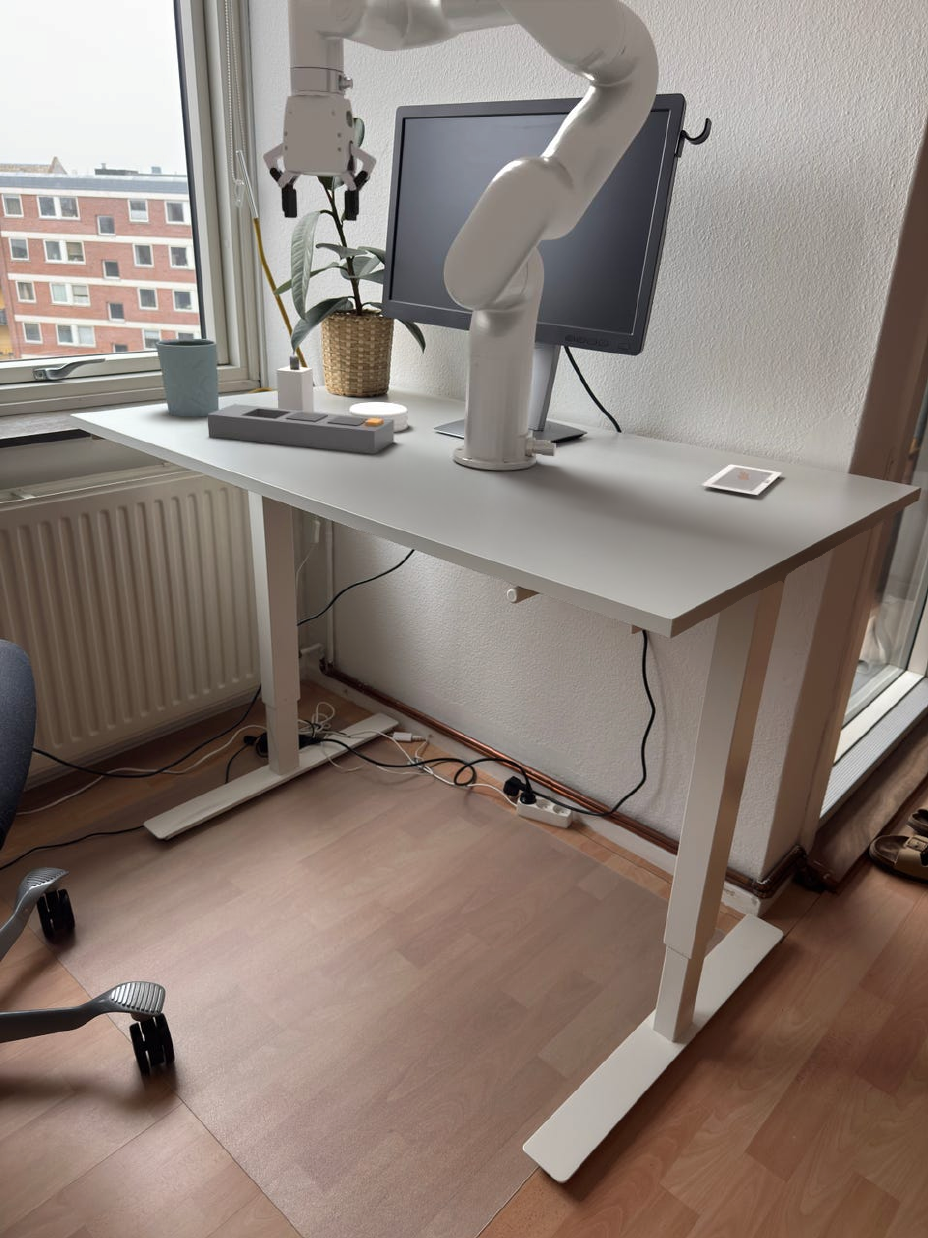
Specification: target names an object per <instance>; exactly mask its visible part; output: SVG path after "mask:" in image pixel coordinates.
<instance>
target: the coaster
mask: <svg viewBox="0 0 928 1238" xmlns="http://www.w3.org/2000/svg"><path fill="white" fill-rule="evenodd" d="M408 412H409V410H408V409H407V407H405V406H404V405H401V404H399V403H398V404H397V403H391V402H382V401H381V402H377V401H375V402H374V401H373V402H361V403H356V404H353V405H351V406H350V408H349V414H350V415H351V416H361V417H371V418H381V419H391V420H394V433H399V432H401V431H402V432H403V431H404V430H407V428H408V419H409V418H408Z"/></svg>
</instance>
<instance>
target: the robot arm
mask: <svg viewBox="0 0 928 1238" xmlns="http://www.w3.org/2000/svg"><path fill="white" fill-rule="evenodd" d="M287 12H288V13H287V18H288V19H287V20H288V22H287V23H288V44H289V45H288V46H289V47H288V49H289V52H288V53H289V78H290V95H287V97H286V102H285V106H284V107H285V108H284V117H283V130H282V143H280V144H278V145H277V146H275V147H273V148H271V150H269V151H267V152H265V153H264V154H263V156H262V158H263V160H264V164H265V165H266V167H267V169H268V170H269V171H268V173H269V175H270V177H272V179H273V180H274V181H275V182H276V183H277V186H278V187H279V188H280V190H281V194H280V195H281V209H282V212H283V214H284V215H283V216H284V218H285V219H296V218H298V200H297V199H298V198H297V196H298V195H297V190H296V188H294V185H295V184H296V182H297V181H298V179H299V178H300V177H301V175H302V176H308V177H309V176H311V177H332V178H333V177H334V178H335V177H339V178H340V179H341V180H342V182H343V183H344V184H345V187H346V189H347V190H344V195H343V196H344V202H343V203H344V220H346V221H347V222H348V221H349V222H350V221H351V222H356V221H357V218H358V217H357V216H359V215H360V192H361V191H362V190H363V187H364V186H365V185H366V184H367V182H369V180H370V179H371V175H372V173H373V170H374V169H375V167H376V164H377V159H376V157H374V156H373V155H371V154H370V153H368V152H367V151H365V150H363V149H362V148H360V147H359V146H357V141H356V140H357V139H356V130H355V122H354V116H353V115H354V114H353V109H352V108H353V107H352V104H351V100H350V99H349V98H346V97H345V96H346V93H347V91H348V90H353V88H354V81H353V78H352V77H347V76H346V73H345V66H344V65H345V59H344V58H345V55H344V51H345V50H344V39H345V40H348V41H351V42H354V43H357V44H362V45H365V46H367V47H370V48H374V49H376V50H380V51H383V52H398V51H406V50H414V49H420V48H426V47H431V46H435V45H438V44H439V45H440V44H443V43H444V42H447V41H449V40H452V39H455V38H456V37H458V36H459V35H460V34H463V33H471V32H475V31H483V30H489V29H495V28H502V27H508V26H514V25H519V26H520V27H521V28H523V29H524V30H525V32H527V34H529V35H530V36H531V38H533V40H535V42H537V43H538V44H539V45H540V47H542V49H544V50H545V52H546V53H547V54H549V55H550V56H551V58H552V59H553V60H554V61H556V63H557V64H559V65H560V66H562V67H563V68H564V69H565V70H567V71H569V72H570V73H572V74H574V75H577V76H579V77H582V78H583V79H586V80H588V82H589V87H588V90H587V93H586V94H585V95H584V97H582V99H581V100H580V102H578V103H577V105H576V106H575V107H574V108H573V109H572V110H571V111H570V112H569V113H568V115H567V116H566V118H565V119H564V120H563V122H562V123H561V126H560V127H559V129H558V130H557V133H556V134H555V136H554V137H553V138H552V140H551V142H550V143H549V144H548V146H547V147H546V148H545V150H544V151H543V152H542V154H541V155H540V156H533V155H532V156H531V155H530V156H522V157H519V158H516V159H514V160H512V161H510V162H509V163H507V164H506V165H505V166H504V167H502V168H501V169H500V170H499V171H498V172H497V173H496V175H494V177H493V178H492V179H491V181H490V182H489V184H488V186H487V187H486V189H485V190H484V191H483V193H482V195H481V196H480V198H479V199H478V201H477V203H476V204H475V206H474V208H473V209H472V211H471V213H470V214H469V216H468V218H467V219H466V221H465V222H464V224H463V225H462V227H461V229H460V230H459V232H458V234H457V235H456V237H455V239H454V241H453V242H452V244H451V246H450V248H449V250H448V252H447V254H446V257H445V260H444V261H445V262H444V267H443V279H444V281H443V282H444V284H445V288H446V291H447V293H448V294H449V296H450V297H451V299H452V300H453V301H454V302H455V303H456V304H457V305H459V306H460V307H462V308H464V309H467V310H469V311H470V310H471V311H472V314H471V318H470V324H469V329H468V330H469V331H468V343H467V360H466V379H465V380H466V381H465V382H466V384H465V385H466V386H465V387H466V388H465V404H464V405H465V409H464V435H463V445H460V446H458V447H456V448H455V449H454V450H453V452H452V458H453V460H454V461H455V462H456V463H457V464H460V465H463V466H466V467H469V468H474V469H480V470H488V471H490V470H491V471H516V470H523V469H528V468H530V467H532V466H534V465H535V464H536V463H537V455H542V456H546V457H548V456H549V457H555V455H556V449H557V443H556V442H555V443H554V442H551V440H546V439H536V437H533V429H529V420H530V408H531V407H530V406H531V393H532V377H533V367H534V366H533V365H534V356H535V355H534V354H535V343H536V342H535V341H536V331H537V323H538V322H537V321H538V314H539V310H540V304H541V299H542V295H543V291H544V284H545V267H544V261H543V258H542V256H541V253H540V251H539V249H538V248H537V247H538V246H539V244H540V243H541V242H542V241H548V240H549V241H550V240H558V239H560V238H562V237H564V236H567V234H569V233H570V232H571V231H573V229H574V228H575V227H576V225H577V224H578V222H580V219H581V218H582V217H583V215H584V213H585V212H586V210H587V209H588V207H589V206H590V204H591V203H592V201H593V200H594V199H595V198H596V196H597V194H598V193H599V192H600V190H601V189H602V187H603V186H604V184H605V183H606V181H607V180H608V178H609V177H610V175H611V174H612V172H613V170H614V169H615V167H616V166H617V164H618V163H619V161H620V160H621V159H622V158H623V156H624V154H625V153H626V151H627V150H628V148H629V147H630V145H631V144H632V142H633V141H634V140H635V138H636V137H637V135H638V134H639V132H640V131H641V129H642V128H643V126H644V124H645V123H646V121H647V118H648V117H649V115H650V112H651V110H652V108H653V105H654V102H655V99H656V95H657V91H658V87H659V76H660V69H659V59H658V54H657V48H656V46H655V43H654V40H653V37H652V35H651V33H650V31H649V29H648V27H647V25H646V24H645V23H644V21H643V20H642V19H641V17H640V16H639V15H638V14H637V13H636V12H635V11H634V10H633V9H631V8H630V7H629V6H628V5H627V4H625V3H624V2H622V1H620V0H287ZM549 55H548V56H549ZM281 158H282V160H283V167H284V169H285V170H284V171H282V170H281V168H279V164H278V160H279V159H281ZM358 160H359V161H360V162H362V167H361V170H360V171H359V172H358V173H357V170H358ZM356 173H357V174H356Z"/></svg>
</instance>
